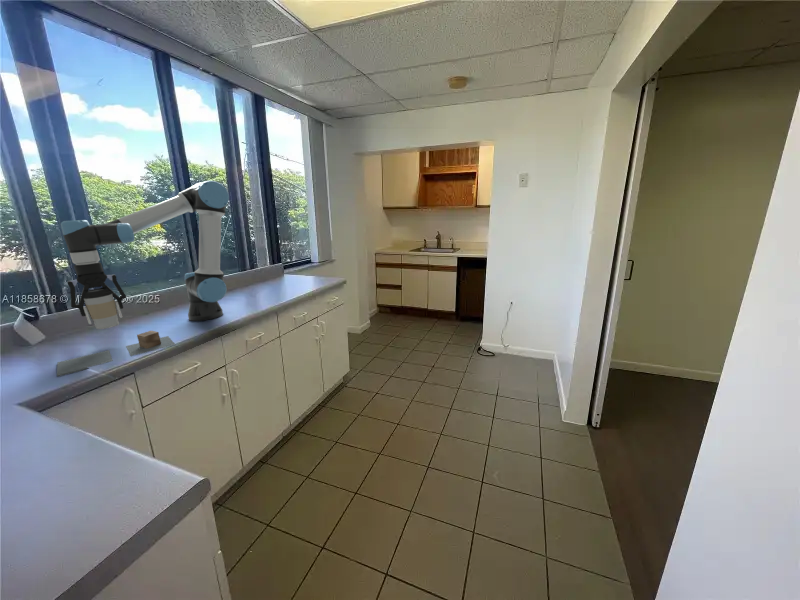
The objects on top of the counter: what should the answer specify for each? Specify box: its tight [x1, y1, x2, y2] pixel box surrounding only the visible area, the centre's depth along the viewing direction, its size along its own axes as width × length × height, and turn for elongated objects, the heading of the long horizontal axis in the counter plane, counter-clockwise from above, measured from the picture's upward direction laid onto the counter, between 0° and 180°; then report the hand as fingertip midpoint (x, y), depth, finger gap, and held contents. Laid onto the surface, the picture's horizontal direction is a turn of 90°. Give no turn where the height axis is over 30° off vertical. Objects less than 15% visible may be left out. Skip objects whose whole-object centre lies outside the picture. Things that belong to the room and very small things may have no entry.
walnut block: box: [136, 330, 161, 349], centre depth 128 cm, size 5×5×5 cm
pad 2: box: [125, 335, 176, 357], centre depth 128 cm, size 14×14×1 cm
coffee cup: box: [83, 286, 120, 330], centre depth 126 cm, size 9×9×15 cm
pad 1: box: [56, 349, 114, 377], centre depth 116 cm, size 14×14×1 cm
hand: (105, 320), depth 127 cm, fingers closed on coffee cup, 8 cm apart
